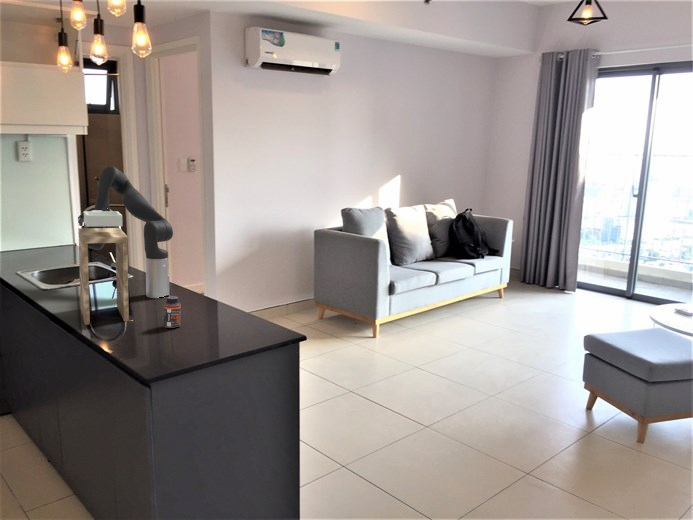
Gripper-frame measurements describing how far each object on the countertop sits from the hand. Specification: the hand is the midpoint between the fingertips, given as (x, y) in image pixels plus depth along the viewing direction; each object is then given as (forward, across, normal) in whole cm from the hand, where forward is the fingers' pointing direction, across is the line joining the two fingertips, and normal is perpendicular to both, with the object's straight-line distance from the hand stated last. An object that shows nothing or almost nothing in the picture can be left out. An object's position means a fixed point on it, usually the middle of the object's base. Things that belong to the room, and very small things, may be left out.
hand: (97, 210), depth 232 cm
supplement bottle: (+17, +21, +54) cm, 60 cm away
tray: (+8, 0, +8) cm, 11 cm away
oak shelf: (-3, 0, +42) cm, 42 cm away
